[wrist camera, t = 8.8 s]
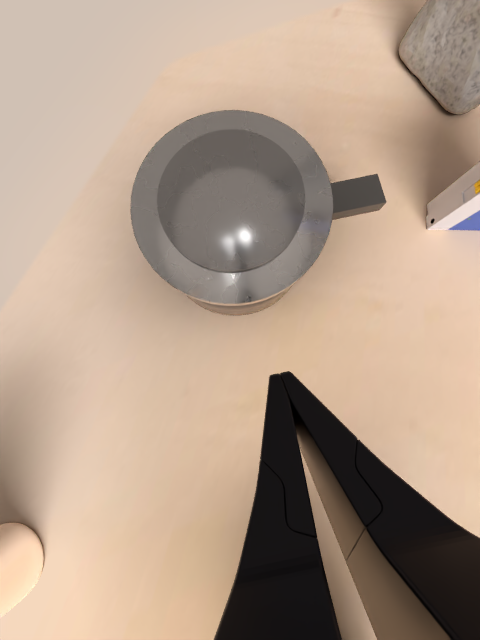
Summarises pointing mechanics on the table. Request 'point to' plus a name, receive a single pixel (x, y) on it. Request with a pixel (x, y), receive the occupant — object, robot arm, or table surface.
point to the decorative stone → (446, 52)
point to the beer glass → (18, 564)
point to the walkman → (457, 204)
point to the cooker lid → (231, 207)
